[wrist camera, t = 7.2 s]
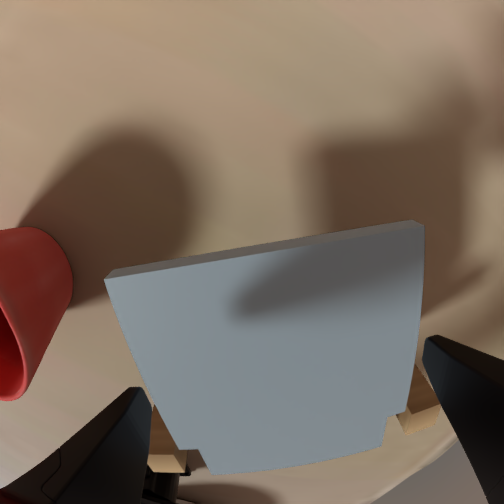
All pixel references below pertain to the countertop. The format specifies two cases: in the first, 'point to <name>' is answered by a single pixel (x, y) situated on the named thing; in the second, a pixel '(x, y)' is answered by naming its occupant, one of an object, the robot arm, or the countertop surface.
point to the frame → (412, 420)
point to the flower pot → (29, 303)
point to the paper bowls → (183, 502)
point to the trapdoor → (278, 344)
